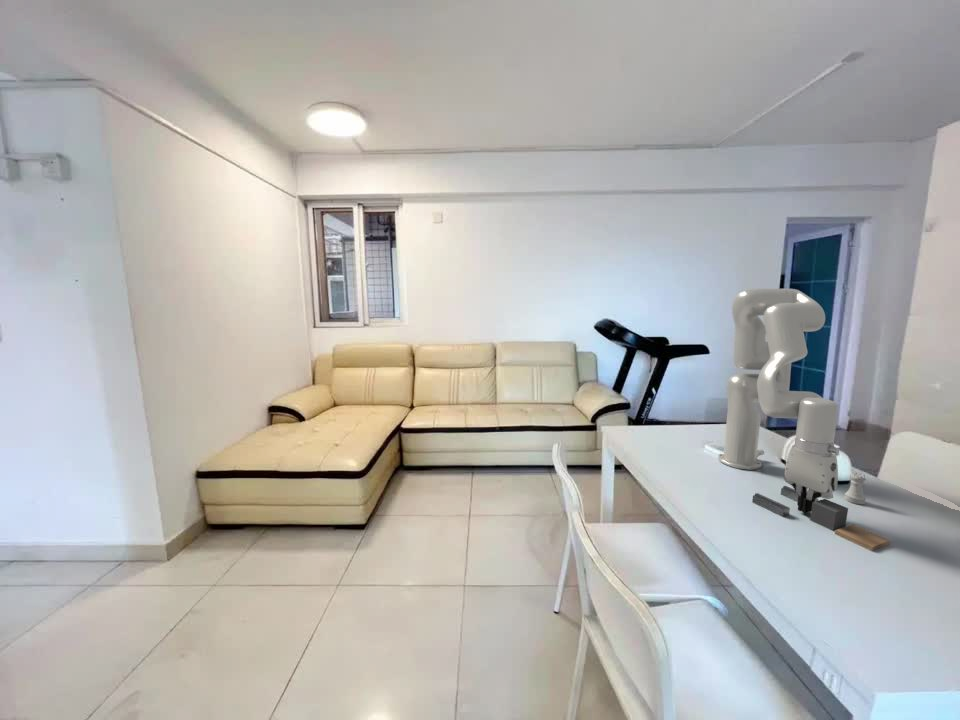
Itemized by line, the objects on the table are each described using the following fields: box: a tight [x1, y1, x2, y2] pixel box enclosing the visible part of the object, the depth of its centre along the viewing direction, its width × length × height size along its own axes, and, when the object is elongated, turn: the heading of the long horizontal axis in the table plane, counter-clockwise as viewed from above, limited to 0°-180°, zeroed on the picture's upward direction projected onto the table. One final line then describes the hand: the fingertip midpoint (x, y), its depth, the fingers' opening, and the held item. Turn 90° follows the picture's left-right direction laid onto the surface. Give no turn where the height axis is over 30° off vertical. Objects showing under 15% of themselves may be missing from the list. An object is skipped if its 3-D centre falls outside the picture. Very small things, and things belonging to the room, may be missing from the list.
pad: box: [834, 523, 891, 552], centre depth 92 cm, size 7×7×1 cm
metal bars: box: [752, 485, 820, 517], centre depth 108 cm, size 14×8×2 cm, turn 110°
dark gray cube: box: [809, 498, 849, 532], centre depth 98 cm, size 5×5×5 cm
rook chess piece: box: [844, 472, 867, 506], centre depth 108 cm, size 4×4×8 cm
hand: (804, 510), depth 103 cm, fingers closed
